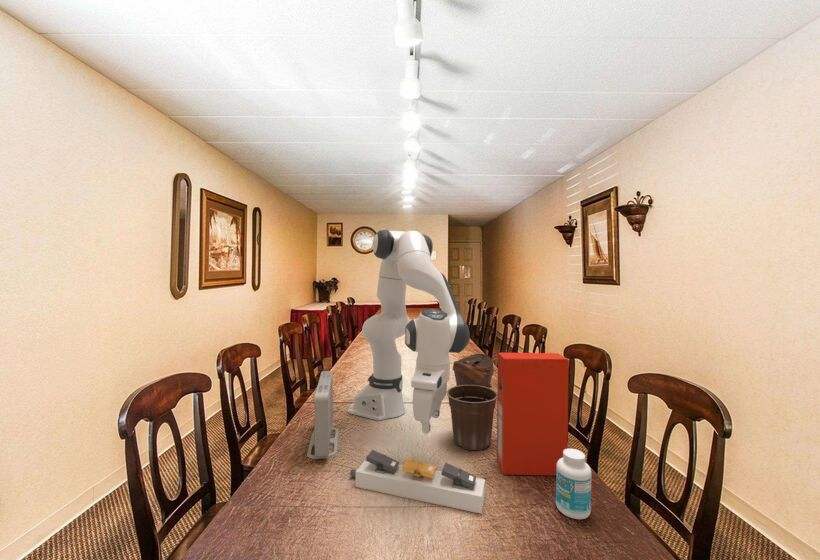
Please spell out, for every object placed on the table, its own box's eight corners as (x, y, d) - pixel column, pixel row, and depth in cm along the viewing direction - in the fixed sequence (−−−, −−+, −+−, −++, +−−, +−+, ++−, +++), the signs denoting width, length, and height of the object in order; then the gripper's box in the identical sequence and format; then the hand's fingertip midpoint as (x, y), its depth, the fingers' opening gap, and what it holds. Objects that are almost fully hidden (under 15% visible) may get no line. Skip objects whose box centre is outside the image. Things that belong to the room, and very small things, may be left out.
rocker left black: (365, 463, 91) (366, 456, 91) (370, 456, 95) (372, 449, 95) (392, 476, 89) (394, 469, 89) (397, 468, 93) (399, 461, 92)
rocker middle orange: (401, 473, 88) (402, 465, 88) (406, 465, 92) (406, 458, 92) (432, 481, 86) (433, 473, 86) (436, 473, 89) (436, 465, 89)
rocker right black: (440, 477, 85) (442, 469, 85) (443, 469, 89) (445, 462, 88) (472, 492, 83) (474, 484, 83) (474, 483, 86) (476, 475, 86)
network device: (336, 463, 101) (336, 394, 101) (304, 466, 100) (304, 396, 99) (339, 424, 127) (339, 369, 126) (314, 426, 125) (314, 370, 125)
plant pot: (454, 456, 106) (454, 403, 105) (441, 431, 121) (441, 385, 121) (505, 452, 108) (506, 400, 108) (486, 428, 124) (486, 383, 124)
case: (451, 404, 145) (452, 361, 145) (451, 388, 165) (452, 350, 165) (495, 407, 143) (497, 364, 143) (490, 391, 163) (491, 352, 163)
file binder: (496, 459, 104) (497, 352, 103) (555, 460, 104) (557, 352, 103) (503, 475, 96) (504, 359, 95) (567, 476, 96) (569, 359, 95)
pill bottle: (549, 500, 86) (550, 445, 85) (578, 498, 86) (580, 444, 86) (566, 522, 78) (567, 462, 78) (597, 520, 79) (599, 461, 78)
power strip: (345, 484, 91) (345, 467, 91) (357, 469, 98) (357, 454, 98) (481, 513, 81) (481, 495, 81) (484, 495, 87) (485, 477, 87)
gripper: (431, 361, 103) (430, 407, 104) (408, 382, 84) (407, 439, 84) (452, 363, 101) (451, 410, 102) (434, 386, 82) (432, 444, 82)
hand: (431, 424), depth 93 cm, fingers open, 8 cm apart
